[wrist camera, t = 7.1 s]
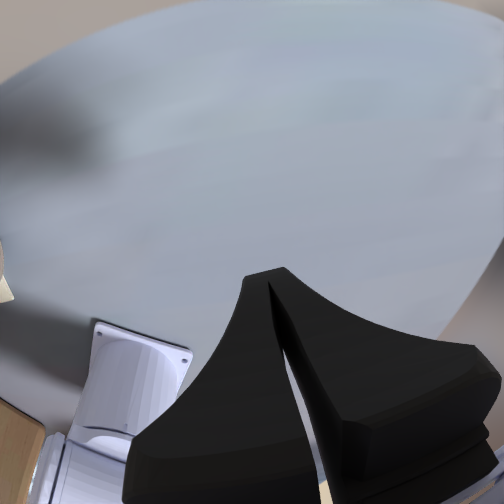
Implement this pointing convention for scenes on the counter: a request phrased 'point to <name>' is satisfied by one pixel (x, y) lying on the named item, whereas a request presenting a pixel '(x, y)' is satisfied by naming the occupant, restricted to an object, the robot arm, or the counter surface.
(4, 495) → the wooden block
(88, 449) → the robot arm
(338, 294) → the counter surface
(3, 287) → the mat
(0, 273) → the coffee cup
